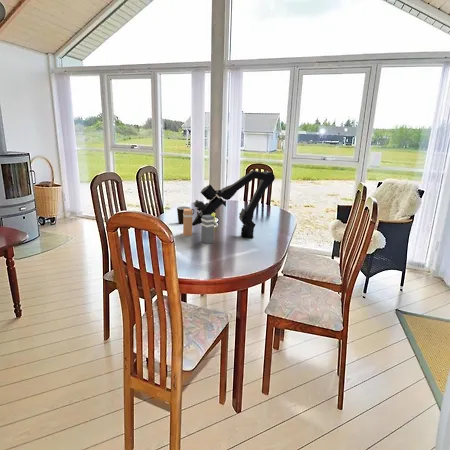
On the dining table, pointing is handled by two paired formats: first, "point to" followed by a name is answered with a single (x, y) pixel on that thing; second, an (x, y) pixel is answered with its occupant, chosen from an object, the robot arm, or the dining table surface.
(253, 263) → the dining table surface
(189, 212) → the post one band
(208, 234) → the post two bands
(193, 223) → the robot arm
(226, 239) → the dining table surface
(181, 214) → the coffee mug
